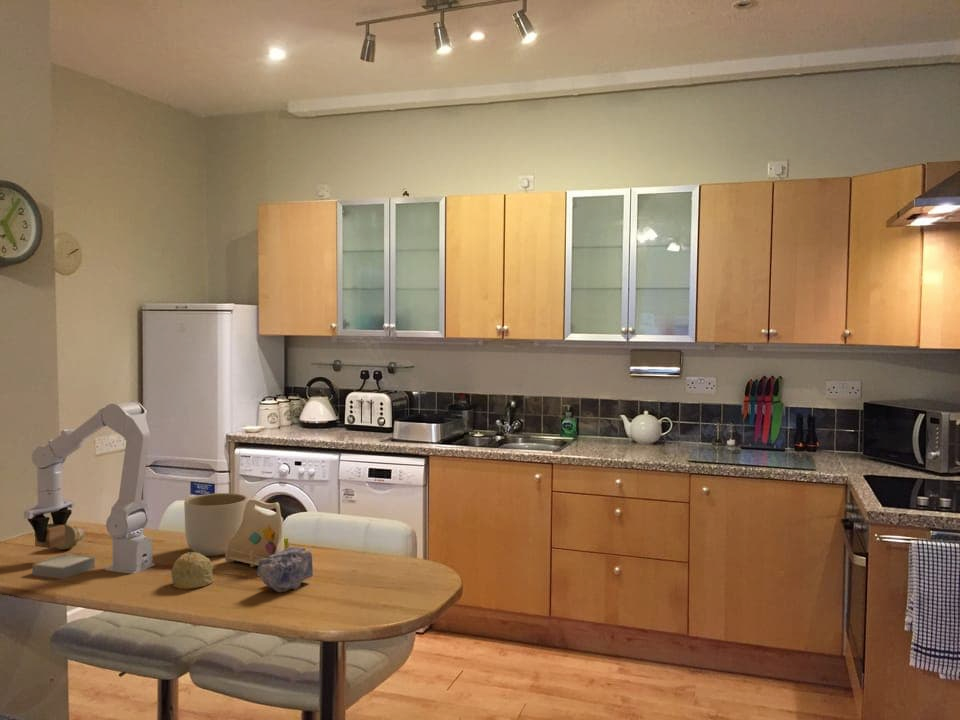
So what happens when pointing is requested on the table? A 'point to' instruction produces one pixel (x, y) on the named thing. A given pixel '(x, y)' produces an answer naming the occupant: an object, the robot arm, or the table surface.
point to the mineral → (286, 569)
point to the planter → (213, 521)
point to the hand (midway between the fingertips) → (50, 539)
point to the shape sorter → (257, 535)
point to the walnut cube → (52, 536)
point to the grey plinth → (63, 566)
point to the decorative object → (192, 571)
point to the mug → (71, 536)
